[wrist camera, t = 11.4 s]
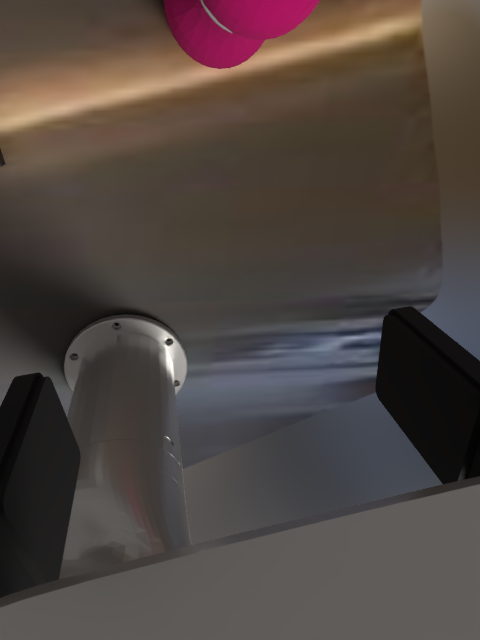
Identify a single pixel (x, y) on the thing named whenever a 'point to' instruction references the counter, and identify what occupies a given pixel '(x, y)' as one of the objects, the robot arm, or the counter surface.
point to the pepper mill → (231, 26)
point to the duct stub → (1, 159)
